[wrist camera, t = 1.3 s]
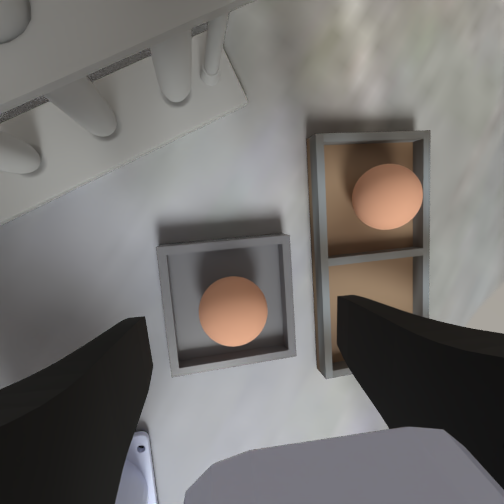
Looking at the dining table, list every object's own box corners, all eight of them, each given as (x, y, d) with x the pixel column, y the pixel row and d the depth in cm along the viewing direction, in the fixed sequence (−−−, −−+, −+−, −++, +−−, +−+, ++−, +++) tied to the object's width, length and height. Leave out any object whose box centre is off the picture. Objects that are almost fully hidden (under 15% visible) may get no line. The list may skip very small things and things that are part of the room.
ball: (394, 225, 21) (439, 228, 18) (341, 230, 21) (376, 234, 17) (393, 167, 21) (440, 156, 17) (339, 170, 20) (375, 159, 16)
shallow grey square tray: (289, 346, 22) (296, 356, 20) (172, 365, 20) (171, 377, 19) (282, 233, 20) (289, 235, 19) (158, 244, 19) (156, 247, 17)
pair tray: (413, 350, 24) (428, 359, 22) (317, 368, 22) (325, 379, 21) (414, 135, 21) (430, 130, 20) (306, 139, 20) (315, 133, 18)
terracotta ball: (261, 326, 20) (278, 352, 16) (200, 335, 20) (203, 365, 16) (257, 267, 20) (273, 280, 16) (194, 274, 19) (195, 289, 15)
